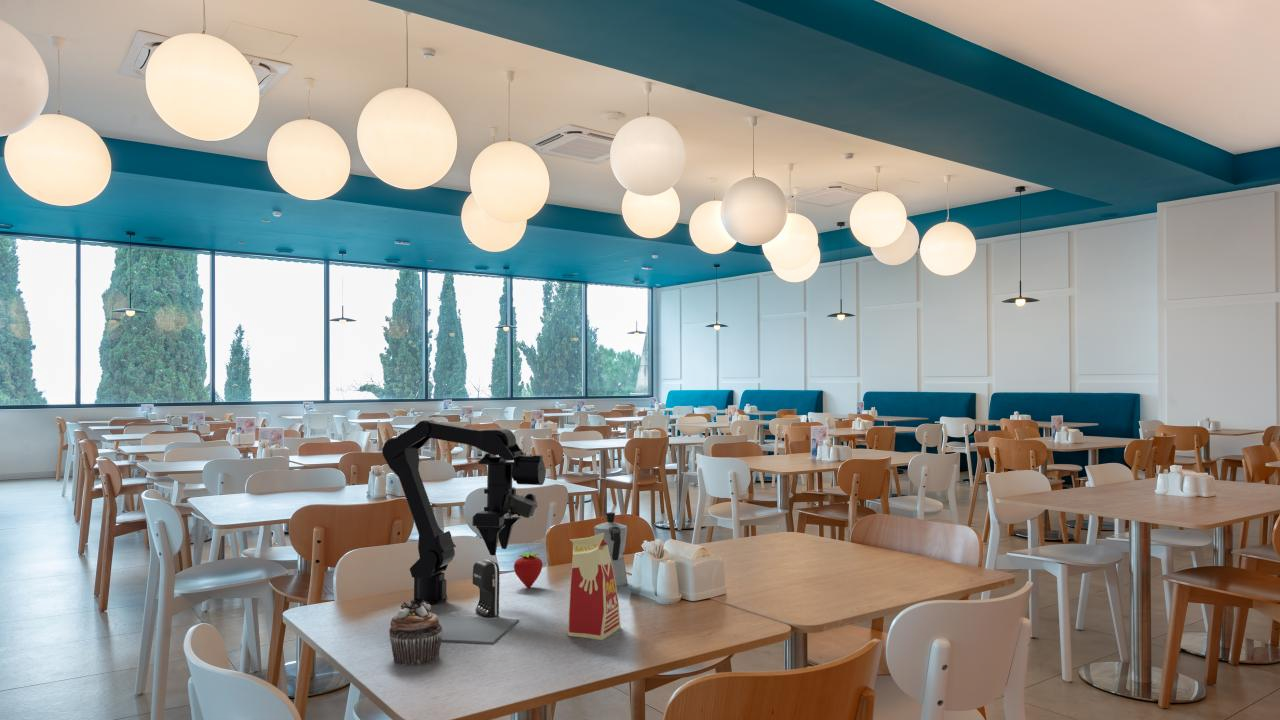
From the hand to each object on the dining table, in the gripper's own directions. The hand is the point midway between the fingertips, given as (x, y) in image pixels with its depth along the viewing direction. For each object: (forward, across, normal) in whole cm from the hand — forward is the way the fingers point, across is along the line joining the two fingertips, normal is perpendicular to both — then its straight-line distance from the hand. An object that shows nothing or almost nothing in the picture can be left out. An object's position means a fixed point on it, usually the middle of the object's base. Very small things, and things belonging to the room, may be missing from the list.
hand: (498, 552), depth 185 cm
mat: (+12, -20, 0) cm, 24 cm away
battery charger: (+12, -8, 0) cm, 15 cm away
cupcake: (+12, -38, +2) cm, 40 cm away
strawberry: (+12, +16, -2) cm, 21 cm away
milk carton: (+12, -18, -26) cm, 34 cm away
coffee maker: (+12, +22, -22) cm, 34 cm away
